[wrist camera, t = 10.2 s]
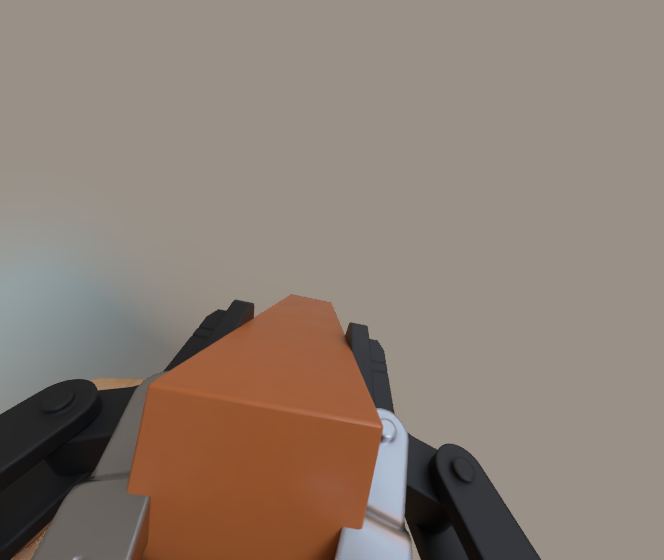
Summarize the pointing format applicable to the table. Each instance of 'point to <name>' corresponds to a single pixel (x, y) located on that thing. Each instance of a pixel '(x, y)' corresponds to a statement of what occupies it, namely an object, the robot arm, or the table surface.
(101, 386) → the table surface
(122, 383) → the table surface
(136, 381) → the table surface
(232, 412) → the lever bar
